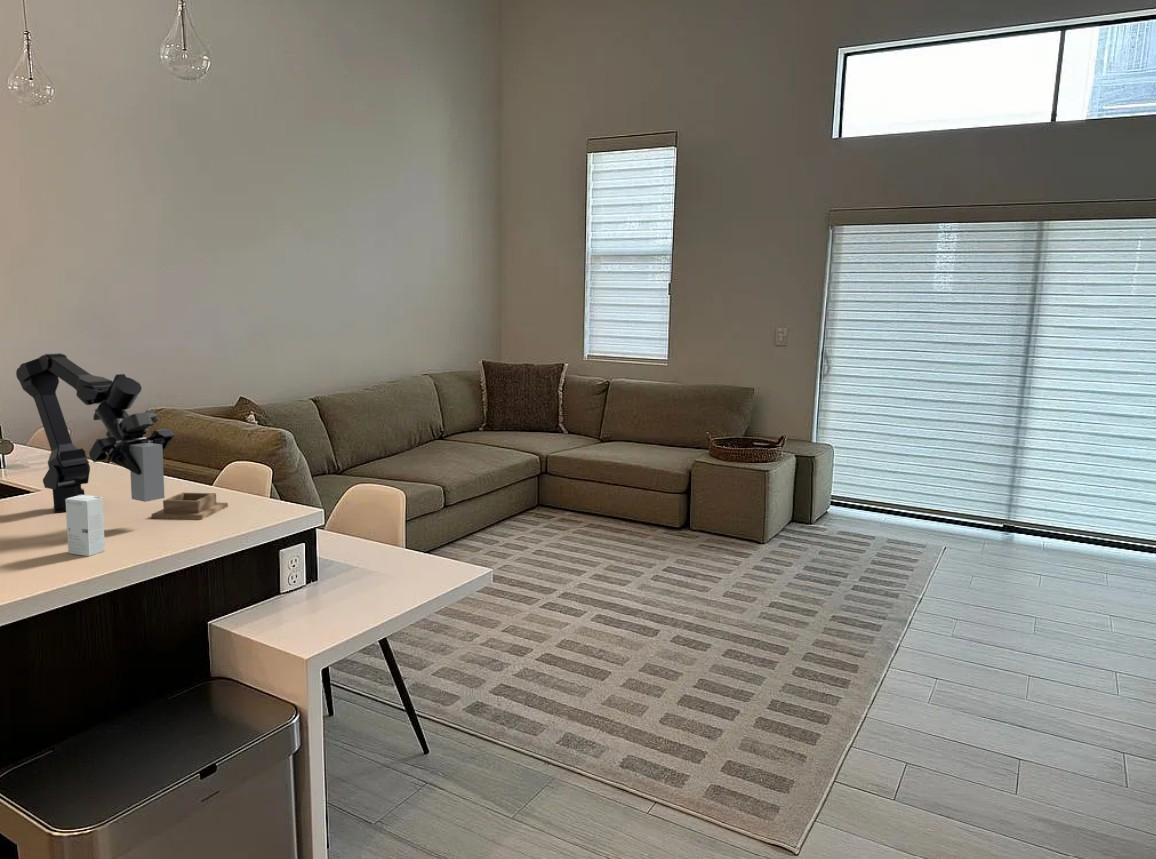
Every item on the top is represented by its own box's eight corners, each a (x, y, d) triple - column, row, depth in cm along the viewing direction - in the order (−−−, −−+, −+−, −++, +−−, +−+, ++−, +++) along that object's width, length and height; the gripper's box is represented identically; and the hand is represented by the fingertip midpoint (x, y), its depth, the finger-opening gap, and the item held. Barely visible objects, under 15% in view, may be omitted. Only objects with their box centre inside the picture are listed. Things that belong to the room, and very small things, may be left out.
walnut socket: (202, 519, 201) (201, 503, 200) (151, 518, 202) (150, 502, 201) (228, 506, 214) (227, 491, 213) (180, 505, 214) (179, 490, 214)
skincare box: (67, 554, 173) (62, 498, 171) (85, 548, 177) (81, 494, 175) (89, 556, 171) (84, 501, 169) (107, 550, 175) (103, 496, 173)
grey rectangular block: (144, 501, 190) (142, 447, 188) (131, 499, 192) (129, 445, 191) (164, 498, 194) (162, 444, 193) (151, 495, 197) (149, 442, 195)
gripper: (92, 404, 184) (126, 456, 180) (167, 396, 200) (199, 444, 197) (74, 435, 188) (107, 487, 185) (148, 425, 205) (180, 472, 201)
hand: (150, 471), depth 192 cm, fingers closed on grey rectangular block, 5 cm apart
